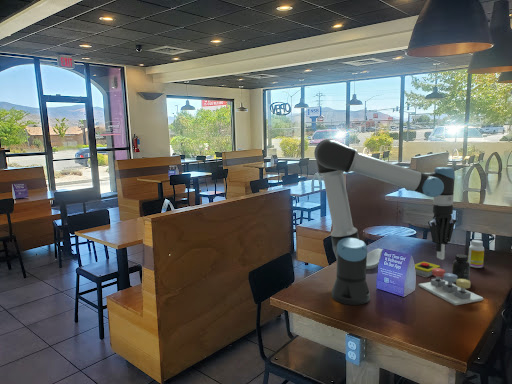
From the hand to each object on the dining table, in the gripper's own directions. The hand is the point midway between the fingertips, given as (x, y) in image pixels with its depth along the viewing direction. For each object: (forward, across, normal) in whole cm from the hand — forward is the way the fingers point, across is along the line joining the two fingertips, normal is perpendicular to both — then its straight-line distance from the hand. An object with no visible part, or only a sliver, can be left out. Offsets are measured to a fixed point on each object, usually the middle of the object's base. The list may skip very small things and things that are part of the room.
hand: (440, 258), depth 164 cm
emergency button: (+14, +8, +17) cm, 24 cm away
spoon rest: (+13, -10, +34) cm, 38 cm away
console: (+13, -1, -6) cm, 14 cm away
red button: (+9, -1, 0) cm, 9 cm away
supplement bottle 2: (+14, +36, +15) cm, 42 cm away
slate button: (+9, -1, -6) cm, 11 cm away
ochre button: (+9, -1, -13) cm, 16 cm away
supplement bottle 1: (+13, +13, +2) cm, 19 cm away
